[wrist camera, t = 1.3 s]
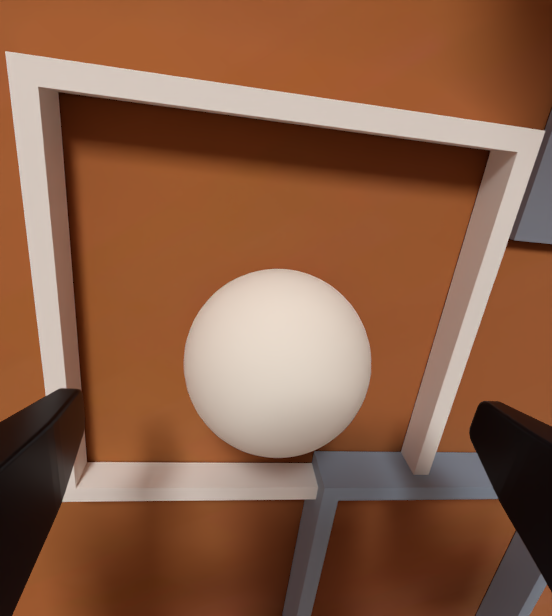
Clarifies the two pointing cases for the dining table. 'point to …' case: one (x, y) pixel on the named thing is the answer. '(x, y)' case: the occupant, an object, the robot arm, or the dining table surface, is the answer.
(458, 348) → the frame
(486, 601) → the frame
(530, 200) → the card
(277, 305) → the ball cream
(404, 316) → the dining table surface
